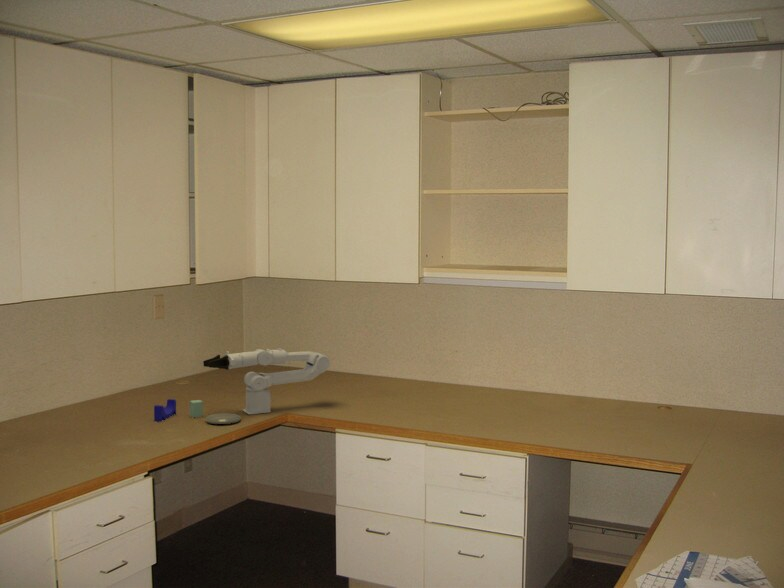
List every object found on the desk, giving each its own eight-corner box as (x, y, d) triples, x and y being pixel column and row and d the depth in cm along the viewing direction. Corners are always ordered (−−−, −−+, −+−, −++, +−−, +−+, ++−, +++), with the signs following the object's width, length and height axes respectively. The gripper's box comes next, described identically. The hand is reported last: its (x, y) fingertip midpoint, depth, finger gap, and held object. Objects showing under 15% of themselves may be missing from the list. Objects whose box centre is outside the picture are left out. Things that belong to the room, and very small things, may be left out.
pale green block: (199, 414, 316) (199, 399, 316) (202, 416, 313) (202, 401, 312) (189, 415, 314) (189, 400, 314) (192, 418, 311) (192, 402, 310)
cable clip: (165, 413, 317) (165, 398, 317) (176, 414, 316) (176, 399, 316) (150, 421, 305) (150, 405, 305) (161, 421, 305) (161, 406, 304)
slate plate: (234, 415, 315) (234, 411, 315) (245, 423, 304) (245, 419, 304) (201, 419, 309) (201, 415, 309) (211, 427, 298) (211, 423, 298)
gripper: (233, 349, 323) (200, 353, 317) (244, 350, 311) (210, 354, 304) (235, 366, 323) (202, 371, 317) (246, 368, 311) (212, 373, 304)
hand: (206, 364), depth 311 cm, fingers open, 7 cm apart
